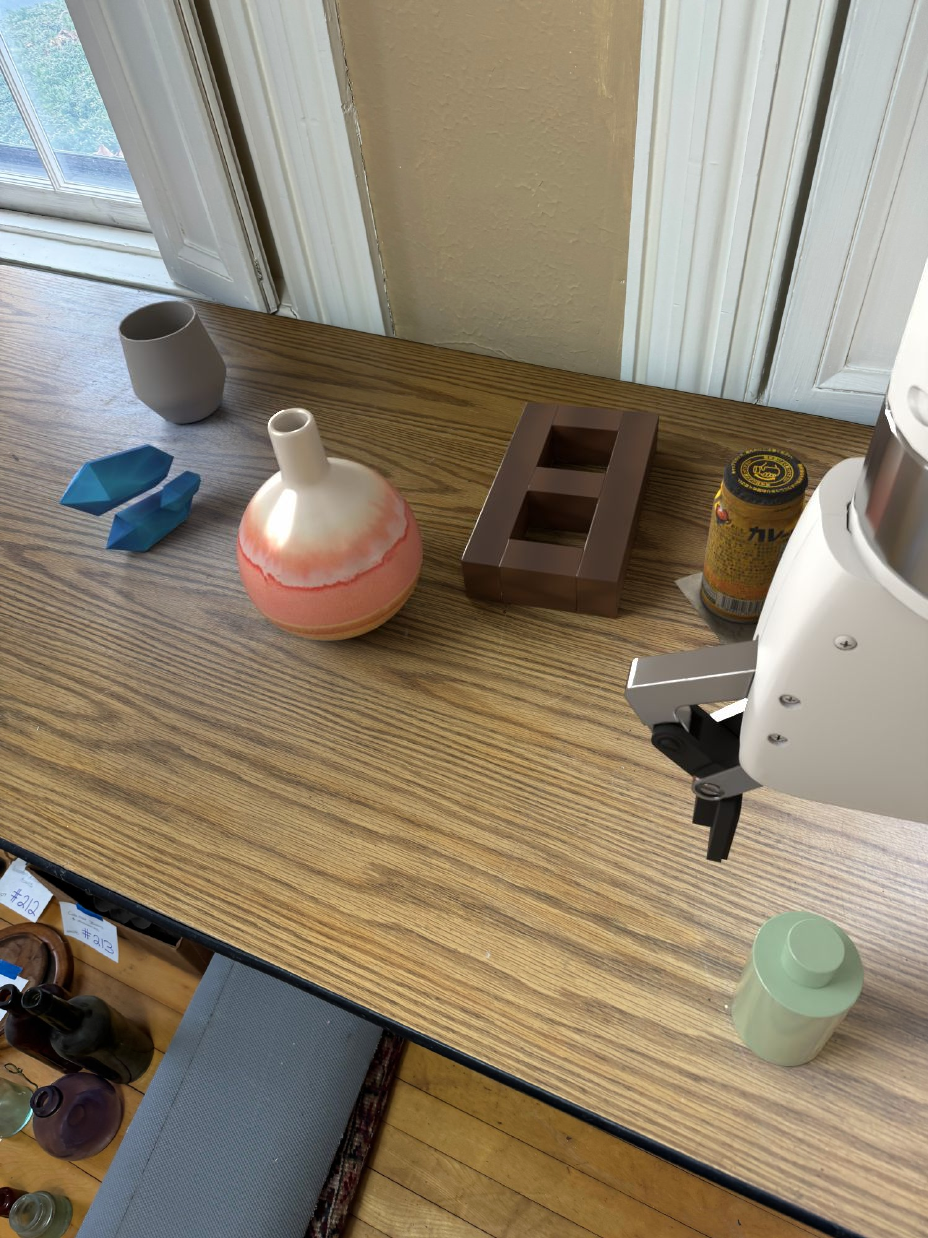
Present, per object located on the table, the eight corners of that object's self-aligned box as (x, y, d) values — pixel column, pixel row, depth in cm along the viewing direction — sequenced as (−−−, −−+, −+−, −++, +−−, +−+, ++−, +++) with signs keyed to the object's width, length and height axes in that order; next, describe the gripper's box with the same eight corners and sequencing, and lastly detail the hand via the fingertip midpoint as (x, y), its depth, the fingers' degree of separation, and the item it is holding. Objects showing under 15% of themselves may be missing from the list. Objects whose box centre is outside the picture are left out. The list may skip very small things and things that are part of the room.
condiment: (757, 553, 67) (783, 426, 58) (823, 627, 61) (863, 499, 53) (673, 583, 66) (687, 458, 57) (733, 661, 60) (759, 536, 51)
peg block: (656, 450, 77) (659, 412, 74) (615, 619, 64) (617, 582, 61) (528, 438, 80) (526, 401, 77) (466, 596, 67) (460, 560, 64)
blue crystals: (211, 443, 73) (83, 495, 65) (224, 529, 78) (108, 586, 71) (158, 416, 76) (31, 463, 69) (175, 501, 82) (59, 552, 74)
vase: (465, 578, 69) (436, 389, 55) (362, 699, 62) (301, 516, 48) (335, 526, 74) (281, 344, 61) (227, 632, 67) (140, 452, 54)
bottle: (828, 983, 46) (875, 906, 38) (825, 1079, 43) (876, 1016, 35) (735, 960, 47) (763, 881, 40) (726, 1052, 44) (755, 985, 37)
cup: (248, 382, 92) (219, 294, 84) (220, 435, 85) (185, 345, 78) (167, 383, 93) (131, 296, 86) (133, 435, 87) (91, 347, 80)
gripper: (1488, 422, 18) (1113, 816, 31) (666, 361, 23) (633, 727, 35) (1700, 701, 14) (1157, 1030, 26) (615, 555, 18) (599, 895, 31)
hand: (856, 855), depth 31 cm, fingers open, 9 cm apart
